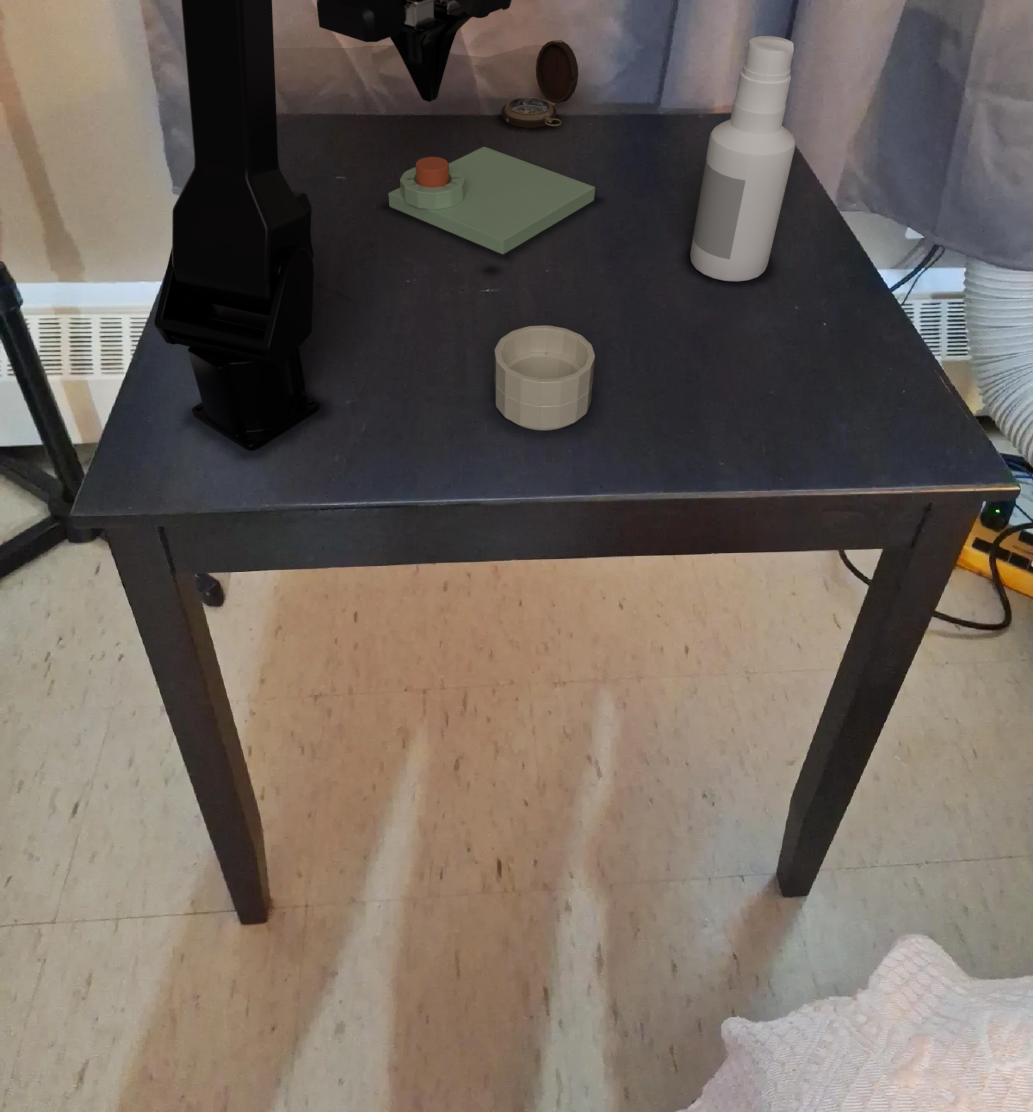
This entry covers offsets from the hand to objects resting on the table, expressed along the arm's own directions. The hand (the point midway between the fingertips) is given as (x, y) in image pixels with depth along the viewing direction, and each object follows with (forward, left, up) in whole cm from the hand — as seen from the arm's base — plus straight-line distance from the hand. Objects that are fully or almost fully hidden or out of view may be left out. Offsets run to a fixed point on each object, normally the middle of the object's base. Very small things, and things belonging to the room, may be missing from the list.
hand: (429, 99), depth 82 cm
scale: (+5, -3, -10) cm, 12 cm away
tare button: (0, 0, -7) cm, 7 cm away
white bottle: (+10, -26, -10) cm, 30 cm away
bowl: (-17, -26, -10) cm, 33 cm away
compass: (+24, +6, -10) cm, 26 cm away
